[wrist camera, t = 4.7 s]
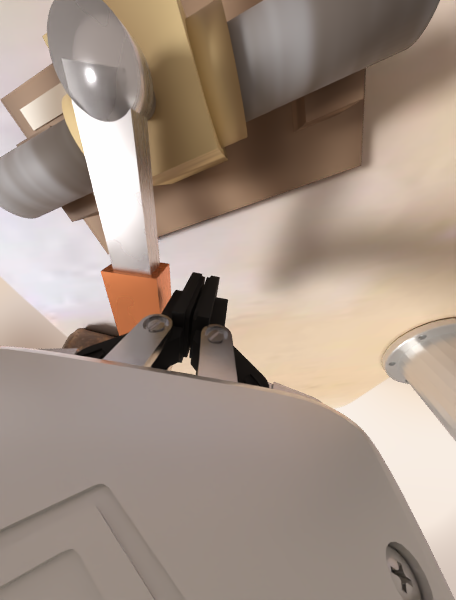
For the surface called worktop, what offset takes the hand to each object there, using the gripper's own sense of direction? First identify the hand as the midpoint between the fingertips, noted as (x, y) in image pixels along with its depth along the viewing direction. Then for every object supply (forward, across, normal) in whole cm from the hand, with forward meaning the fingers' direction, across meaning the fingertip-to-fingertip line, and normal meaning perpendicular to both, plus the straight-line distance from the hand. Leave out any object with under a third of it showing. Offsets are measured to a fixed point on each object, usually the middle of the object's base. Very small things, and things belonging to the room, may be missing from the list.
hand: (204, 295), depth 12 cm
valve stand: (+10, +4, -8) cm, 13 cm away
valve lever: (0, +3, -2) cm, 4 cm away
